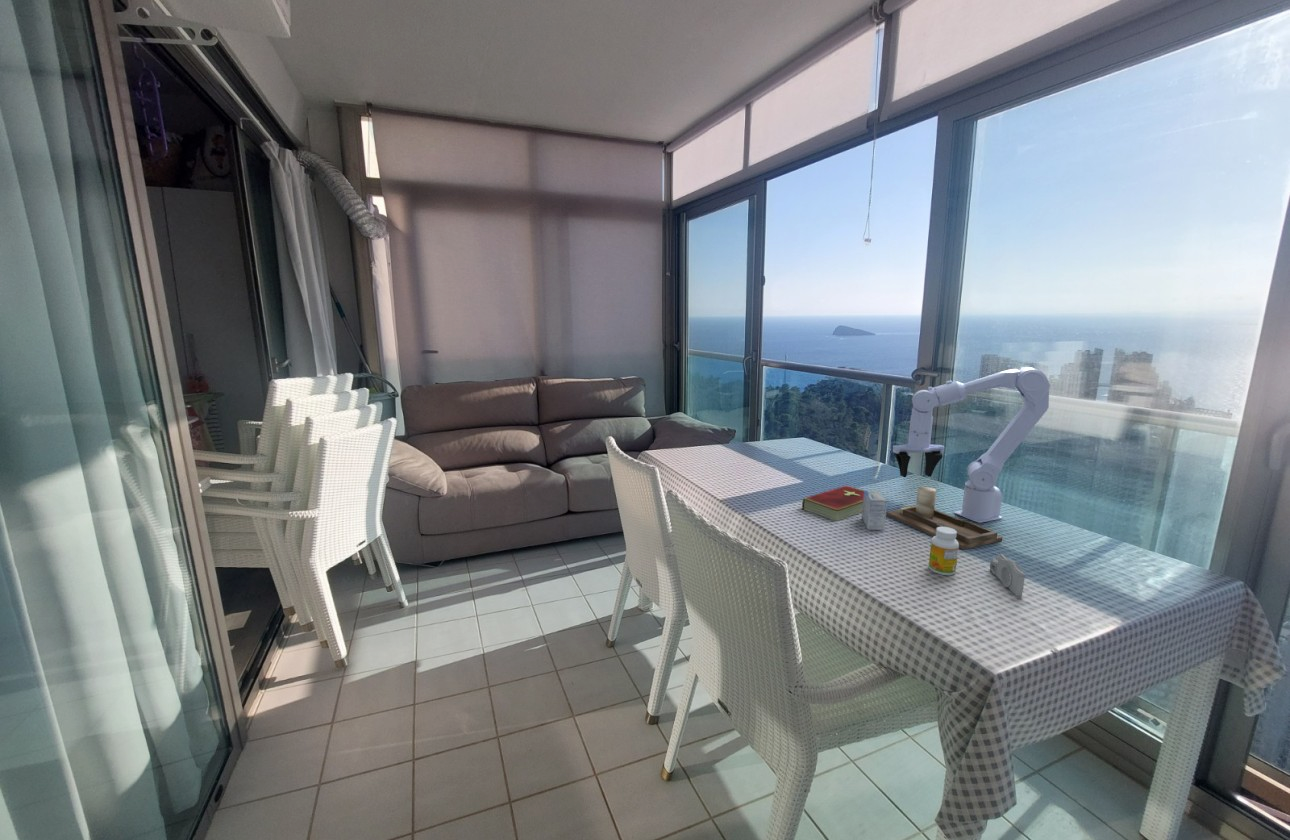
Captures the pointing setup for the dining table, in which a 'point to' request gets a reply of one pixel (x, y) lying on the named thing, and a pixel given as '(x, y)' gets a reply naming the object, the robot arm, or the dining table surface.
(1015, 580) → the grey toy camera
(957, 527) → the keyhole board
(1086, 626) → the dining table surface
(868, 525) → the medicine box
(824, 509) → the hardcover book
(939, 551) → the supplement bottle
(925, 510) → the ash peg
